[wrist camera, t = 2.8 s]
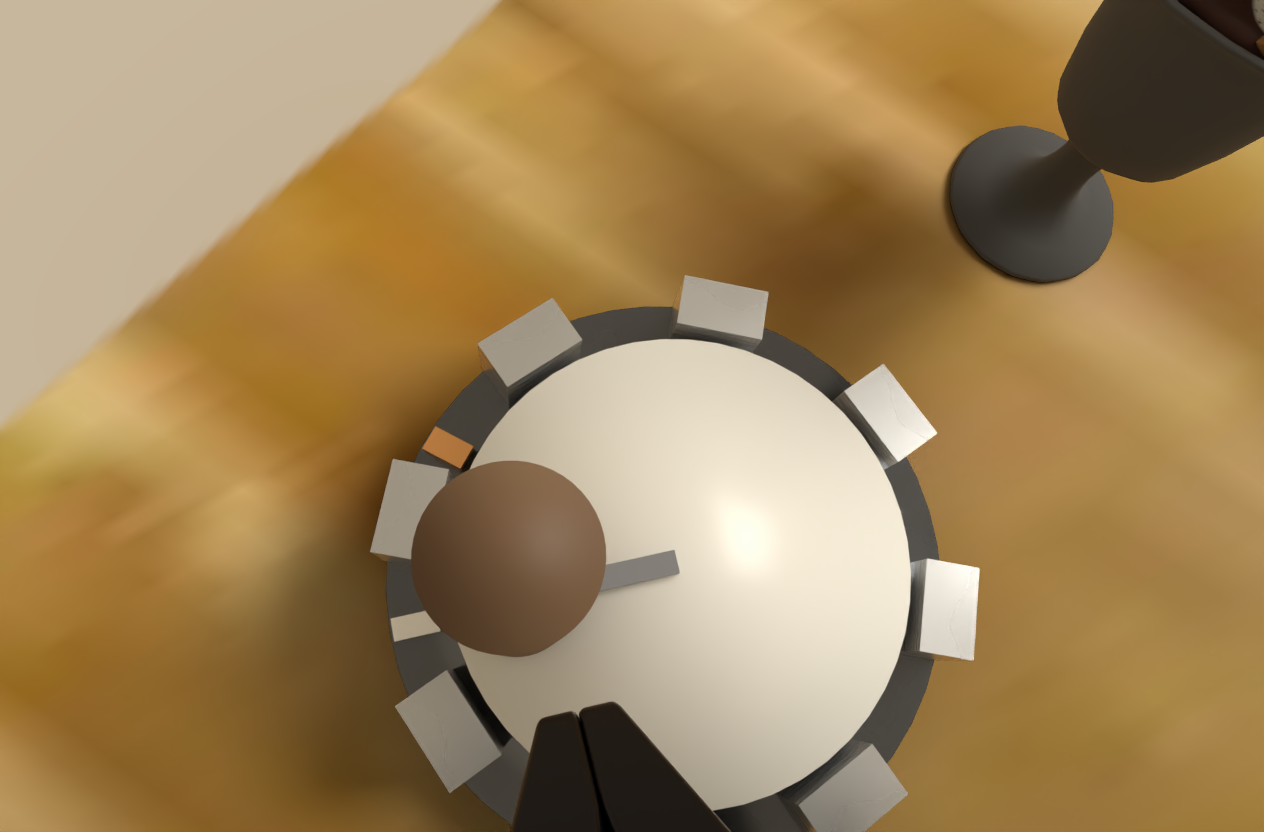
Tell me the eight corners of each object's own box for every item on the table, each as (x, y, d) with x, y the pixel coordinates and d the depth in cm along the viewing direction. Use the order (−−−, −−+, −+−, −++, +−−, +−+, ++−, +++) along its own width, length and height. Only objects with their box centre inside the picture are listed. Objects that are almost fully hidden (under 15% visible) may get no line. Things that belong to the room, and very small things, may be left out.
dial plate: (982, 780, 22) (1056, 800, 19) (447, 927, 20) (431, 977, 17) (836, 289, 25) (880, 236, 22) (356, 375, 23) (329, 330, 20)
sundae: (1086, 356, 26) (1802, -33, 11) (881, 228, 26) (1318, -309, 12) (1175, 182, 27) (1890, -348, 13) (981, 65, 28) (1469, -578, 13)
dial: (938, 738, 21) (1259, 799, 12) (499, 854, 19) (470, 1032, 10) (820, 327, 23) (1010, 108, 14) (418, 401, 21) (334, 210, 12)
